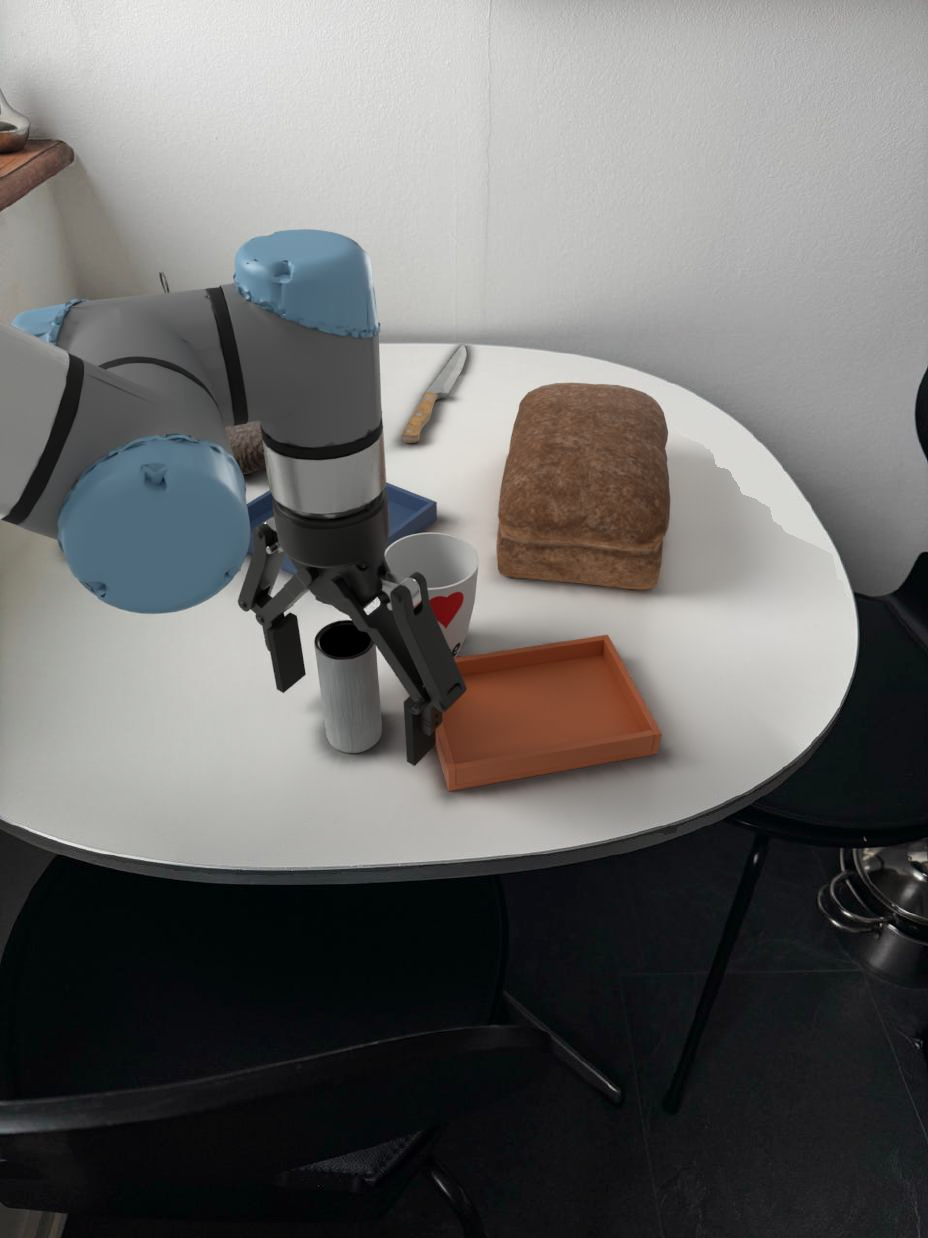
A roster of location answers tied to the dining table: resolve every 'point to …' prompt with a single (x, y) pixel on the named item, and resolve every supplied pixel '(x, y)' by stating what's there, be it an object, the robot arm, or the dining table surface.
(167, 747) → the dining table surface
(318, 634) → the planter
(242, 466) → the decorative stone
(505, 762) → the clay tray
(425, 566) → the cup
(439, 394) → the knife
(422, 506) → the blue tray
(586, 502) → the bread
